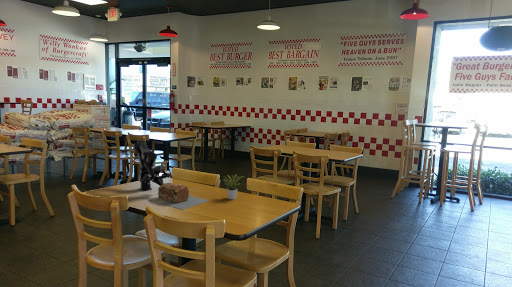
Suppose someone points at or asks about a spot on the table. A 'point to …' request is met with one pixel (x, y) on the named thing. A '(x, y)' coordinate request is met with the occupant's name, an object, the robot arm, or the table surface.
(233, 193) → the house plant
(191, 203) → the serving mat
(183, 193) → the bread
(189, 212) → the table surface
